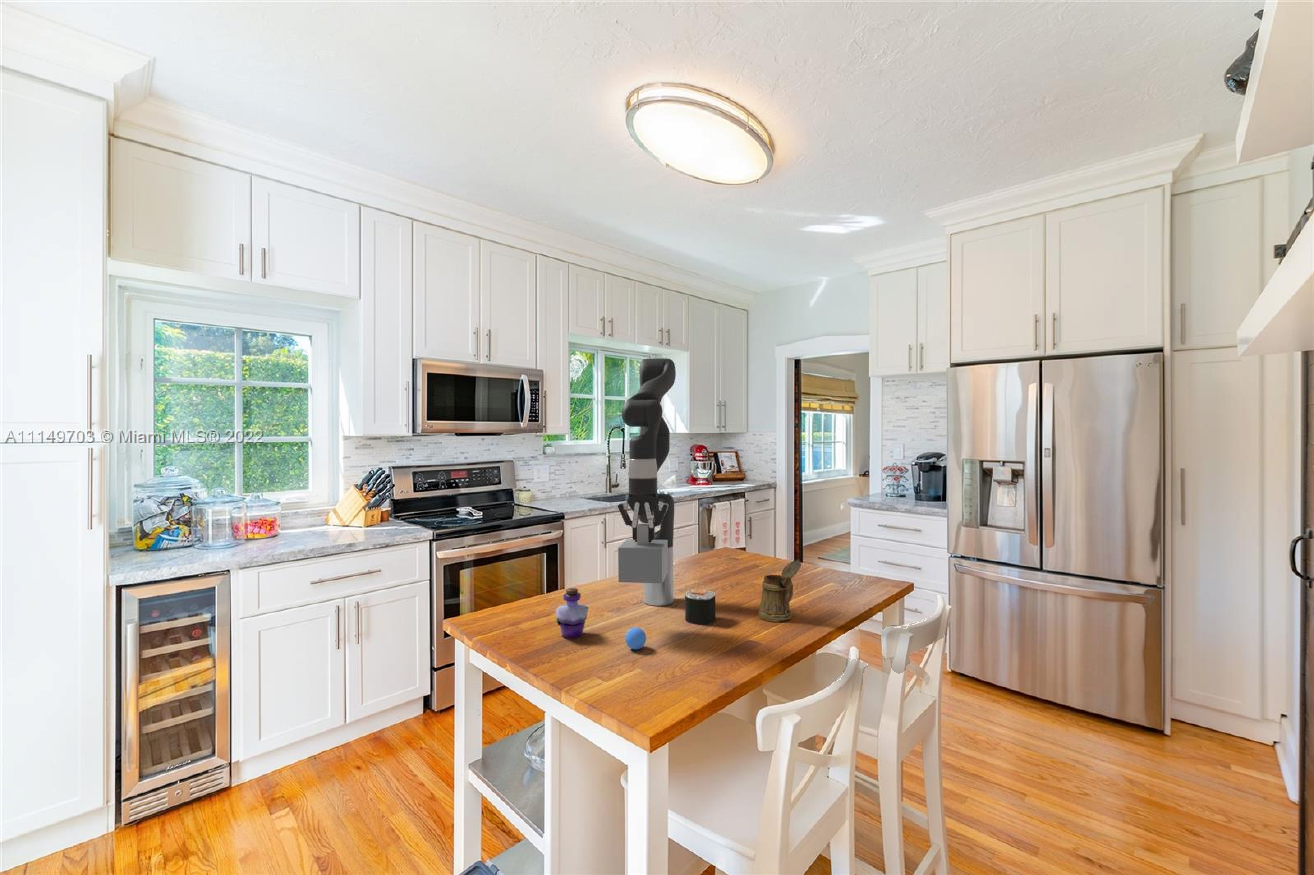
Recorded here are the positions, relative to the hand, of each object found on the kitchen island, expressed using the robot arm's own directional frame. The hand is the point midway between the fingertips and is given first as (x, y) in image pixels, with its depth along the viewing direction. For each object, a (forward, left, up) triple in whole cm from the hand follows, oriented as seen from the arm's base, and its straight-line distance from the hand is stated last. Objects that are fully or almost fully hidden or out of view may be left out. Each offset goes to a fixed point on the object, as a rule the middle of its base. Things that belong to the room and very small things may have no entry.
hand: (643, 541), depth 148 cm
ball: (+12, 0, -21) cm, 24 cm away
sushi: (-11, +14, -24) cm, 30 cm away
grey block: (0, 0, -9) cm, 9 cm away
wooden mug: (-14, +36, -24) cm, 45 cm away
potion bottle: (+5, -18, -24) cm, 30 cm away
